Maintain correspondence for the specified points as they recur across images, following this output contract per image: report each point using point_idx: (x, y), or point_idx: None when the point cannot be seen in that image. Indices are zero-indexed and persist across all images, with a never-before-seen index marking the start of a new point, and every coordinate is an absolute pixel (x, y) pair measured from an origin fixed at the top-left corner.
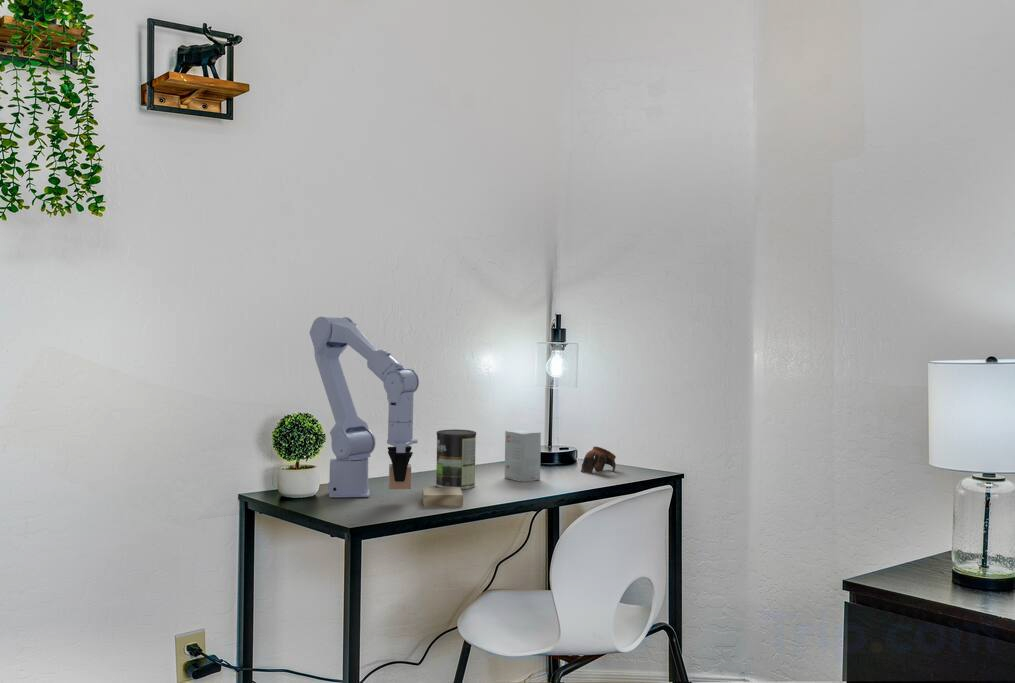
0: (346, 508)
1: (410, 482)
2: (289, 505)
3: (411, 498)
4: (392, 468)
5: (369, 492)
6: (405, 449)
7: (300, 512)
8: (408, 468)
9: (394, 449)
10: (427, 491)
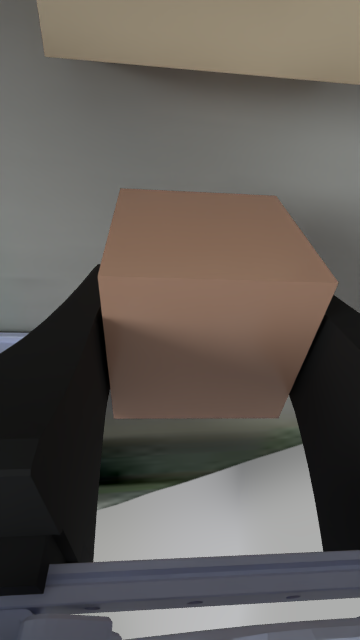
0: None
1: (290, 218)
2: (180, 470)
3: (70, 137)
4: (281, 398)
5: (6, 337)
6: (65, 480)
7: (267, 453)
8: (325, 300)
9: (82, 538)
10: (221, 25)
